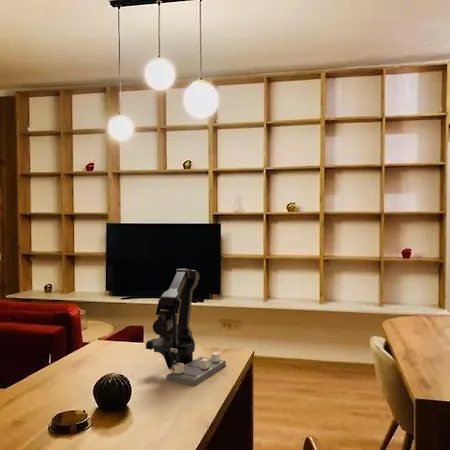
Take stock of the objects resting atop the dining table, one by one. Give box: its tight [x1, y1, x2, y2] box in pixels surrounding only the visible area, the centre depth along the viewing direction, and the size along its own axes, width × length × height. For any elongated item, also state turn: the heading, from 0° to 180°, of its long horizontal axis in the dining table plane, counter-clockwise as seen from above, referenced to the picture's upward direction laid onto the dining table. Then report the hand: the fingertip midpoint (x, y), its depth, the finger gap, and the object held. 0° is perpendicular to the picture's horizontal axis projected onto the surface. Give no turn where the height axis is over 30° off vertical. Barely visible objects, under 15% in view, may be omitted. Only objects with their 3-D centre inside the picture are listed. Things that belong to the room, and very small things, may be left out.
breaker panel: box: [166, 356, 227, 387], centre depth 191 cm, size 12×25×2 cm, turn 153°
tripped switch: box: [173, 363, 184, 374], centre depth 185 cm, size 2×3×3 cm
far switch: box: [210, 351, 221, 362], centre depth 198 cm, size 2×3×3 cm
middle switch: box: [200, 357, 209, 369], centre depth 190 cm, size 2×3×3 cm
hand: (169, 368), depth 186 cm, fingers closed
